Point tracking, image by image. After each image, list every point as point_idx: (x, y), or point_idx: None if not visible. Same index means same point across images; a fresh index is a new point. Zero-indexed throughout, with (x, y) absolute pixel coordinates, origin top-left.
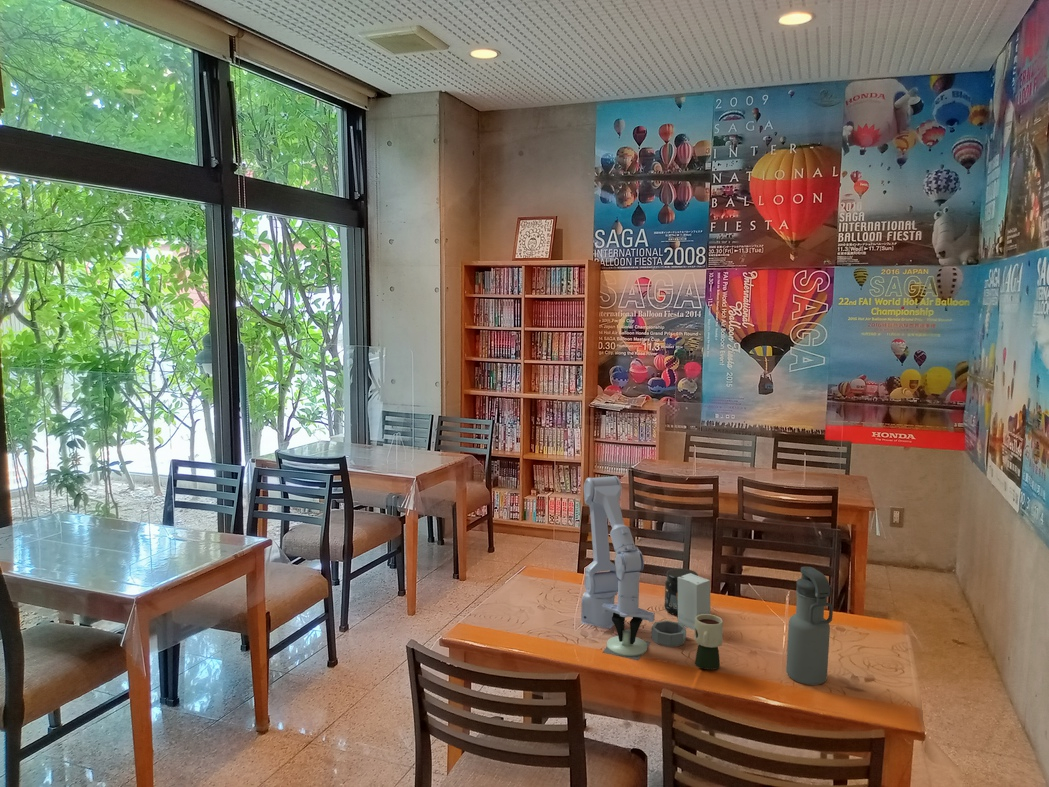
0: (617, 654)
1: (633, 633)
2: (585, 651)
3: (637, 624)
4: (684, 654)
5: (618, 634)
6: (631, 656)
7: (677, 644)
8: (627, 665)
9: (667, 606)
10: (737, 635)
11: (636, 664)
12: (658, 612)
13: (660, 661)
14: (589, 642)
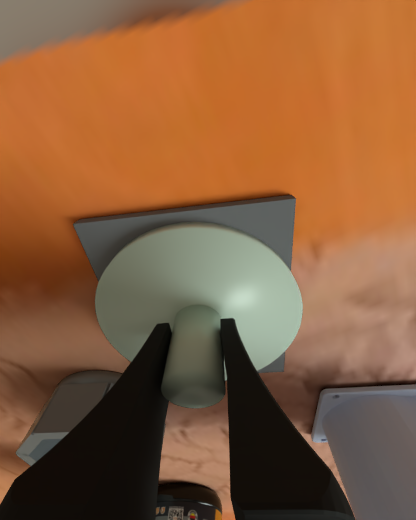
0: (202, 222)
1: (121, 383)
2: (406, 170)
3: (4, 501)
4: (7, 363)
5: (240, 349)
6: (126, 242)
7: (50, 397)
8: (97, 148)
9: (203, 507)
10: (11, 467)
11: (69, 193)
12: (223, 480)
13: (16, 282)
14: (392, 277)
